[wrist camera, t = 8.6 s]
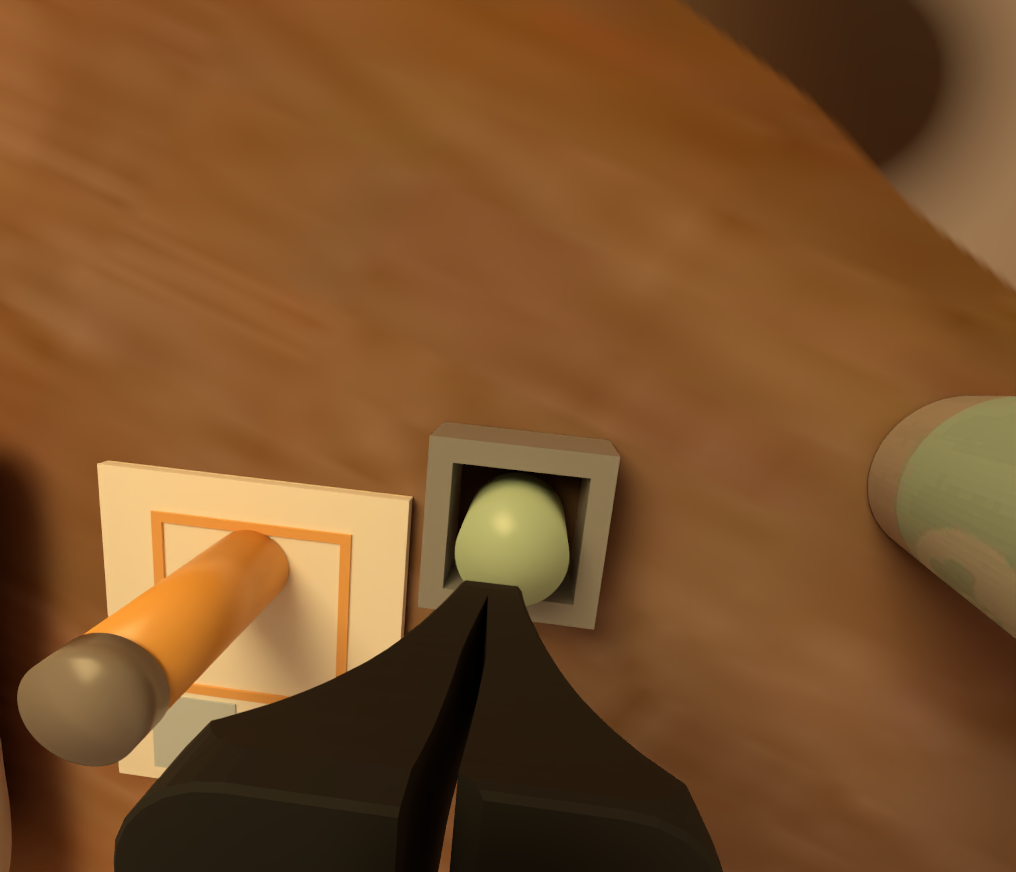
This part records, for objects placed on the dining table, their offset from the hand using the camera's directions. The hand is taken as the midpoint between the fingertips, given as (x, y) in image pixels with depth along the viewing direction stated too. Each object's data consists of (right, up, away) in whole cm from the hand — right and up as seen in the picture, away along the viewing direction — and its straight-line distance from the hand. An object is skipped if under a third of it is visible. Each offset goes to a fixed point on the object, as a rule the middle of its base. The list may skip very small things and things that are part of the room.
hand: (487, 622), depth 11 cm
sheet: (-10, -4, +9) cm, 14 cm away
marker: (-10, -1, +8) cm, 12 cm away
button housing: (+1, +2, +7) cm, 8 cm away
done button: (+1, +1, +6) cm, 7 cm away
